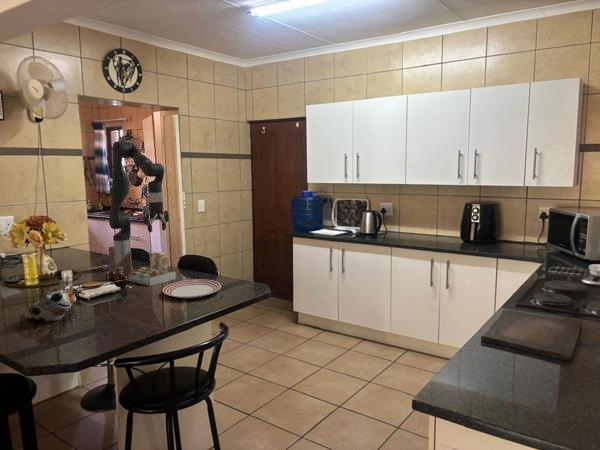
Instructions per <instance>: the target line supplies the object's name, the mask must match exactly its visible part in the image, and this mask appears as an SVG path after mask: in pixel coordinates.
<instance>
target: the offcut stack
mask: <svg viewBox="0 0 600 450" xmlns="http://www.w3.org/2000/svg"><path fill="white" fill-rule="evenodd" d="M136 271H137V272H136ZM136 271H135V272H136V273H135V276H138V277H142V278H147V279H148V278H150V277H154V276H158V275H160V271H159V270H157V269H152V268H150V267H146V266H140V267H139V268H137V269H136Z"/></svg>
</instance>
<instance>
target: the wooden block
mask: <svg viewBox="0 0 600 450" xmlns="http://www.w3.org/2000/svg"><path fill="white" fill-rule="evenodd" d="M108 259H109V260H108V261H109V273H110V272H114V273H122V274H124V275H125V276H126V277H127V280H129V276H128V273H132V267H131V265H132V255H131V256H130V252H128V253H127V254H126V255H125V256H124V258H123V259H122V260H121V261H120V262H119V263H118V264H117V260H116V247H114V246H109V247H108ZM122 266H123V269H122V271H118V269H117V267H122Z"/></svg>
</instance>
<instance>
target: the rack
mask: <svg viewBox="0 0 600 450" xmlns="http://www.w3.org/2000/svg"><path fill="white" fill-rule="evenodd" d="M136 272H137V270H136V271H133V272H132V271H131V273H128V276H129V279H128V281H129V282H133V283H136V284H137V283H138V284H142V285H146V286H154V285H158V284H162V283H166V282H170V281H174V280H176V279H177V273H176V272H177V271H168V273H166V274H162V275H158V276H154V277H150V278H148V279H147V278H142V277H138V276H135V273H136Z"/></svg>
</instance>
